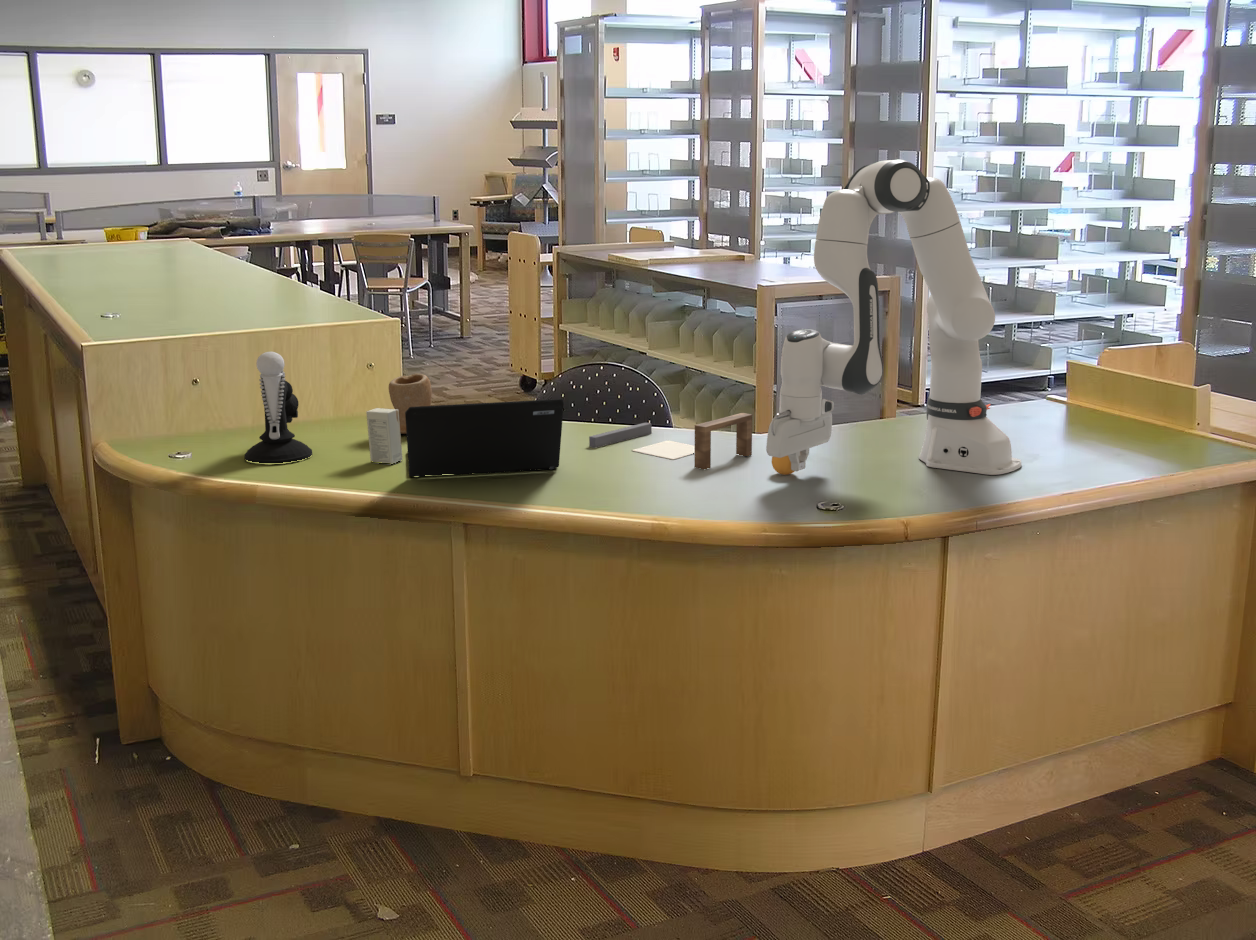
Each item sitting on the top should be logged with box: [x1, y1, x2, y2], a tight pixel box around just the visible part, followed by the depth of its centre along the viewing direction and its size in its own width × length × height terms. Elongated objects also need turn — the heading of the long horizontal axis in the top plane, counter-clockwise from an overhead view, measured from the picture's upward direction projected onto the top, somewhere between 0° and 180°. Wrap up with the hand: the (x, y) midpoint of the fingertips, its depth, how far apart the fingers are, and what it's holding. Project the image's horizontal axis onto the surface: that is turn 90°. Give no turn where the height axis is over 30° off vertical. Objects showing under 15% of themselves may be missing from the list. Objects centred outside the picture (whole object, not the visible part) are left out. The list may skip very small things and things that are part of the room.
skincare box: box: [365, 407, 403, 465], centre depth 288 cm, size 6×4×12 cm
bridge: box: [694, 412, 753, 470], centre depth 286 cm, size 3×17×10 cm, turn 137°
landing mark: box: [631, 439, 695, 461], centre depth 298 cm, size 13×13×1 cm
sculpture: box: [244, 351, 313, 463], centre depth 295 cm, size 15×24×25 cm, turn 6°
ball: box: [771, 456, 796, 476], centre depth 275 cm, size 6×6×6 cm
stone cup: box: [388, 373, 433, 435], centre depth 315 cm, size 15×12×15 cm
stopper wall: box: [588, 421, 653, 449], centre depth 308 cm, size 2×20×2 cm, turn 137°
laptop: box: [405, 398, 565, 477], centre depth 281 cm, size 33×38×19 cm
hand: (798, 469), depth 272 cm, fingers closed
